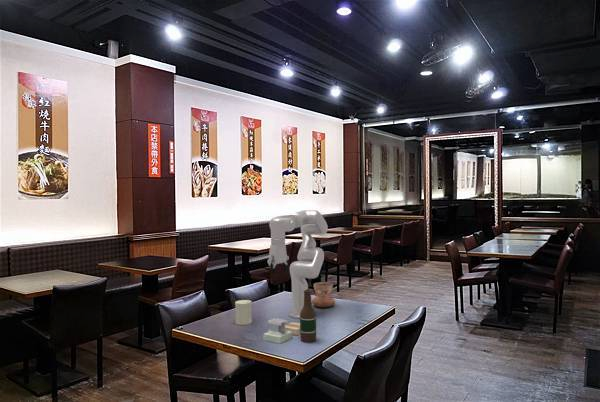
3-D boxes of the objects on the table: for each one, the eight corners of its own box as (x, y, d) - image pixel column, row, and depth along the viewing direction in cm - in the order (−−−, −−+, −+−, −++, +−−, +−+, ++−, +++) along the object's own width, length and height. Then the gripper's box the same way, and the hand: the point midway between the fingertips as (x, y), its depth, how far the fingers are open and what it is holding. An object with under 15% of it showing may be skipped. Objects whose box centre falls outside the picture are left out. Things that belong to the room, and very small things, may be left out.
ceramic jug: (330, 310, 262) (330, 287, 263) (307, 308, 268) (307, 285, 268) (338, 304, 279) (338, 282, 279) (317, 302, 285) (317, 280, 285)
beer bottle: (299, 337, 211) (298, 288, 211) (315, 337, 212) (314, 288, 212) (301, 343, 203) (300, 292, 203) (317, 342, 204) (316, 291, 204)
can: (249, 325, 235) (248, 303, 235) (233, 324, 237) (232, 302, 237) (254, 320, 244) (253, 299, 244) (238, 319, 246) (238, 298, 246)
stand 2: (292, 327, 229) (292, 321, 229) (308, 330, 223) (307, 324, 223) (280, 332, 220) (280, 326, 220) (296, 335, 215) (296, 329, 215)
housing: (274, 330, 215) (274, 318, 215) (287, 332, 210) (287, 320, 210) (268, 332, 211) (268, 320, 211) (281, 335, 206) (281, 322, 206)
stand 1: (276, 334, 217) (276, 328, 217) (292, 337, 211) (292, 331, 211) (263, 340, 209) (263, 333, 209) (279, 343, 203) (279, 337, 203)
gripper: (282, 240, 239) (282, 271, 239) (262, 243, 225) (262, 276, 225) (293, 240, 234) (294, 272, 234) (273, 243, 220) (274, 277, 220)
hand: (278, 274), depth 230 cm, fingers open, 9 cm apart
